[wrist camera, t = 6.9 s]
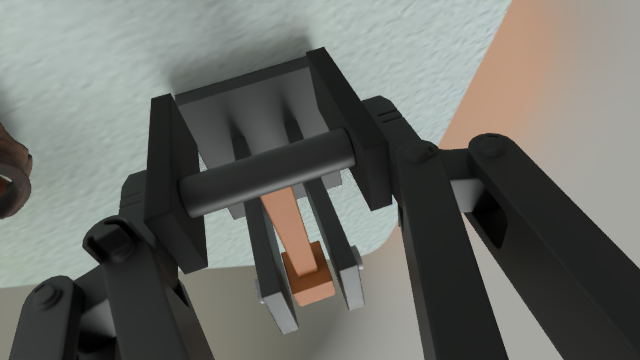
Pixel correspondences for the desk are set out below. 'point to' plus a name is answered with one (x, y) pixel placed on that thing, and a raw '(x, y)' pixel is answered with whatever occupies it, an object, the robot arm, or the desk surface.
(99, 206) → the desk surface
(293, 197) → the switch
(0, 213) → the brown jagged hollow piece
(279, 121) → the switch base
